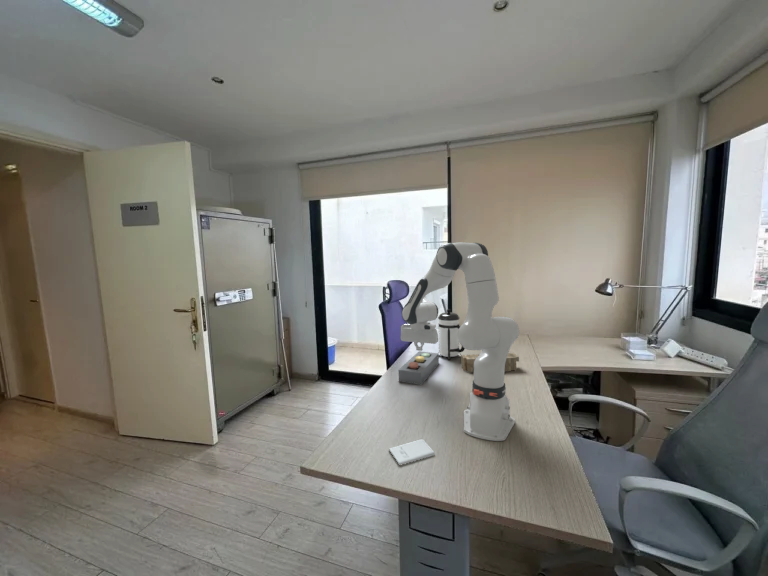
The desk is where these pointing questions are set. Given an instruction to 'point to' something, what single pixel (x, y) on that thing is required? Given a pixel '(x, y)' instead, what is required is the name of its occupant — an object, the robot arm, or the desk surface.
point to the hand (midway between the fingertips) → (419, 350)
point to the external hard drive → (411, 451)
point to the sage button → (425, 355)
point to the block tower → (469, 359)
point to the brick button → (413, 365)
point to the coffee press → (449, 334)
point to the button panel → (423, 371)
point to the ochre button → (419, 359)
